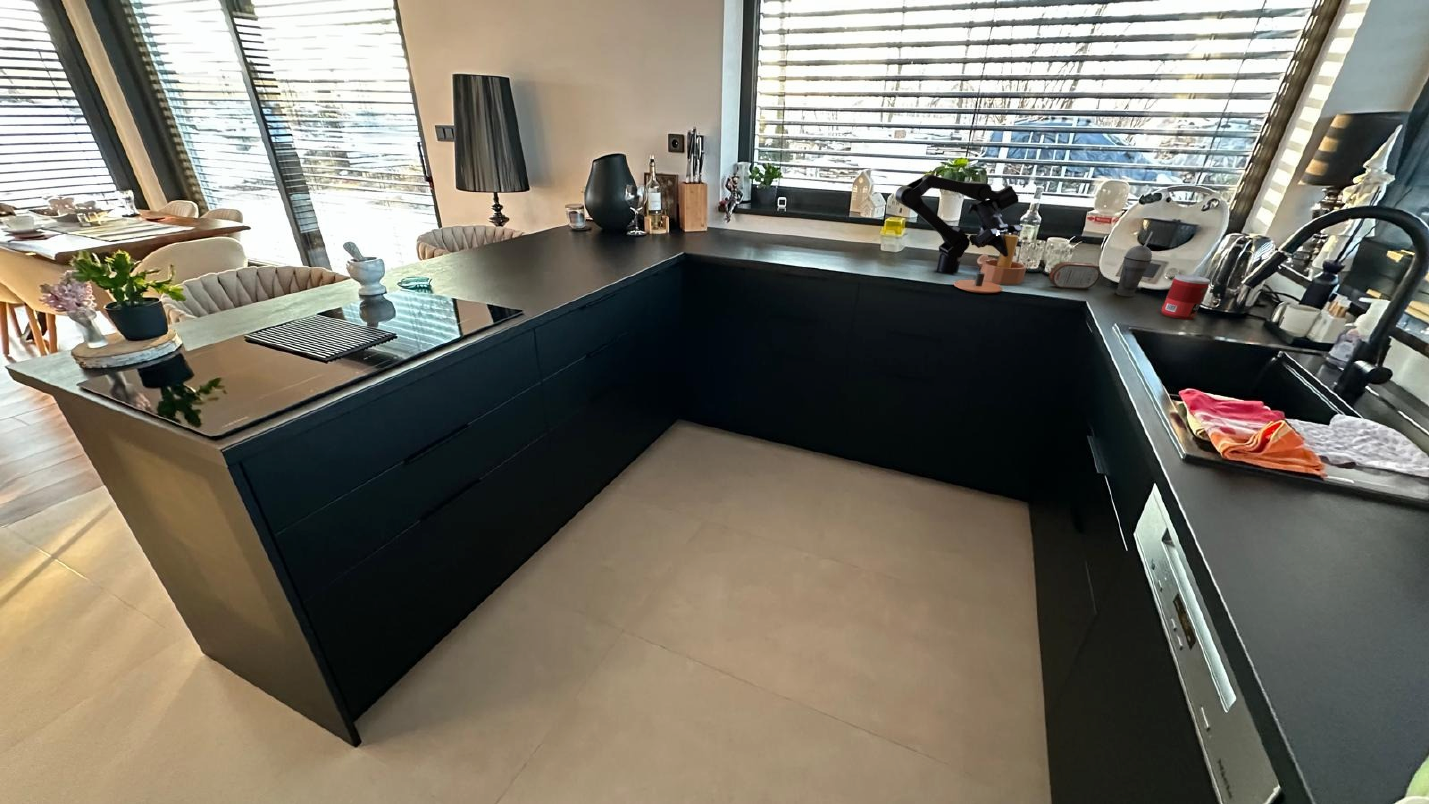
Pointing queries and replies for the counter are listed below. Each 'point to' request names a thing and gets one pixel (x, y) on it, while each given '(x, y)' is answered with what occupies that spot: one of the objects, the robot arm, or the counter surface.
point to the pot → (1003, 273)
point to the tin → (1074, 275)
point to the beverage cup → (1134, 269)
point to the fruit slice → (984, 257)
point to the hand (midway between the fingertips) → (1010, 255)
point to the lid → (978, 285)
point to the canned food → (1185, 296)
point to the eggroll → (1011, 246)
